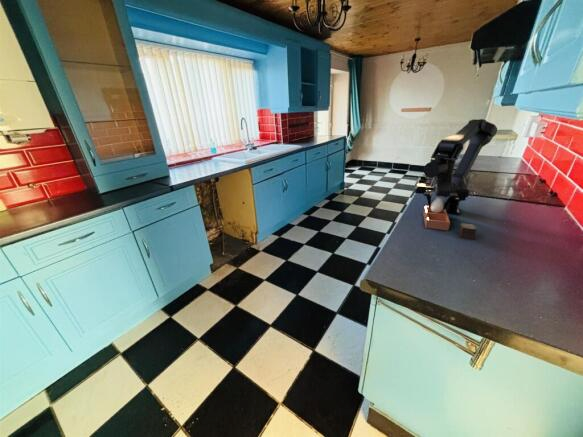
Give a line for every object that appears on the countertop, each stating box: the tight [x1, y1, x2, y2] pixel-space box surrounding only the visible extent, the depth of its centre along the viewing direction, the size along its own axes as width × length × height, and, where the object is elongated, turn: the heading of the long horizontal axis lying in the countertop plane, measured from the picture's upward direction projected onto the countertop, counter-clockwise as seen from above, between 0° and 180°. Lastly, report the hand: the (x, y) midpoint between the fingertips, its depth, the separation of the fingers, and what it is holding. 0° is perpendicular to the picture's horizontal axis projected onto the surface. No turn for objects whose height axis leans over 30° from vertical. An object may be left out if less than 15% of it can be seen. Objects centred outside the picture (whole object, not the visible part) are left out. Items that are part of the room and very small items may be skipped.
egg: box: [430, 197, 444, 213], centre depth 98 cm, size 5×5×7 cm
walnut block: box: [458, 222, 477, 240], centre depth 85 cm, size 4×4×4 cm
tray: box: [422, 205, 451, 231], centre depth 97 cm, size 8×15×4 cm, turn 156°
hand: (436, 209), depth 99 cm, fingers closed on egg, 5 cm apart
